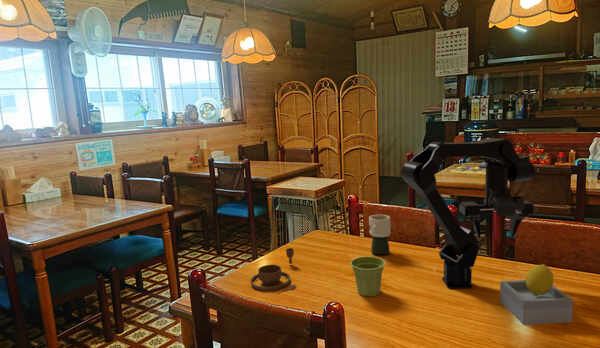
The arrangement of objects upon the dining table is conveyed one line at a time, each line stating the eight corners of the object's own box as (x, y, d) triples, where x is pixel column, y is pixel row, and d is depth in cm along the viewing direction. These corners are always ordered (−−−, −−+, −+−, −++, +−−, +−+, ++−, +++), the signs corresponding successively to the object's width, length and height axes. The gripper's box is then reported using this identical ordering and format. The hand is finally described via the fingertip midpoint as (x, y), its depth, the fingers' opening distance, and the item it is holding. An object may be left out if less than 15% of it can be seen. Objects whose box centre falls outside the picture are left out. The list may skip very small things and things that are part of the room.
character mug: (376, 246, 148) (375, 212, 146) (395, 249, 144) (394, 214, 142) (364, 256, 139) (363, 220, 137) (384, 259, 135) (383, 222, 133)
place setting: (238, 280, 126) (237, 262, 125) (290, 263, 138) (289, 246, 137) (269, 300, 113) (268, 279, 112) (324, 278, 124) (323, 260, 123)
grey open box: (522, 326, 92) (523, 301, 92) (499, 303, 103) (500, 281, 102) (571, 324, 92) (573, 299, 91) (543, 301, 103) (544, 279, 102)
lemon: (549, 303, 94) (559, 271, 93) (522, 294, 96) (532, 262, 95) (545, 297, 99) (555, 266, 98) (520, 288, 101) (530, 258, 100)
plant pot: (365, 303, 106) (364, 271, 105) (345, 290, 115) (343, 260, 113) (393, 294, 111) (392, 263, 109) (371, 282, 119) (370, 253, 118)
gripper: (472, 190, 106) (471, 247, 109) (546, 187, 105) (544, 245, 107) (458, 182, 117) (458, 234, 120) (525, 180, 116) (524, 232, 118)
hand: (495, 237), depth 116 cm, fingers open, 9 cm apart
